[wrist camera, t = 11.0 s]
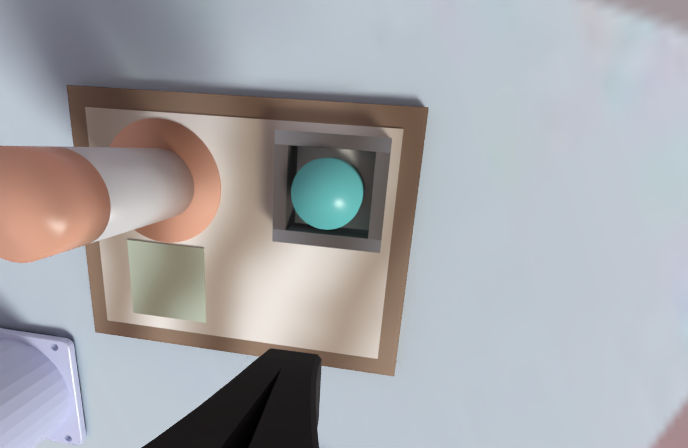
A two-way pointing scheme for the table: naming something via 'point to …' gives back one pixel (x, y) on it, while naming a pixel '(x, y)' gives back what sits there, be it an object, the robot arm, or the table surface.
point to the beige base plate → (259, 226)
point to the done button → (327, 192)
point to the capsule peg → (84, 195)
